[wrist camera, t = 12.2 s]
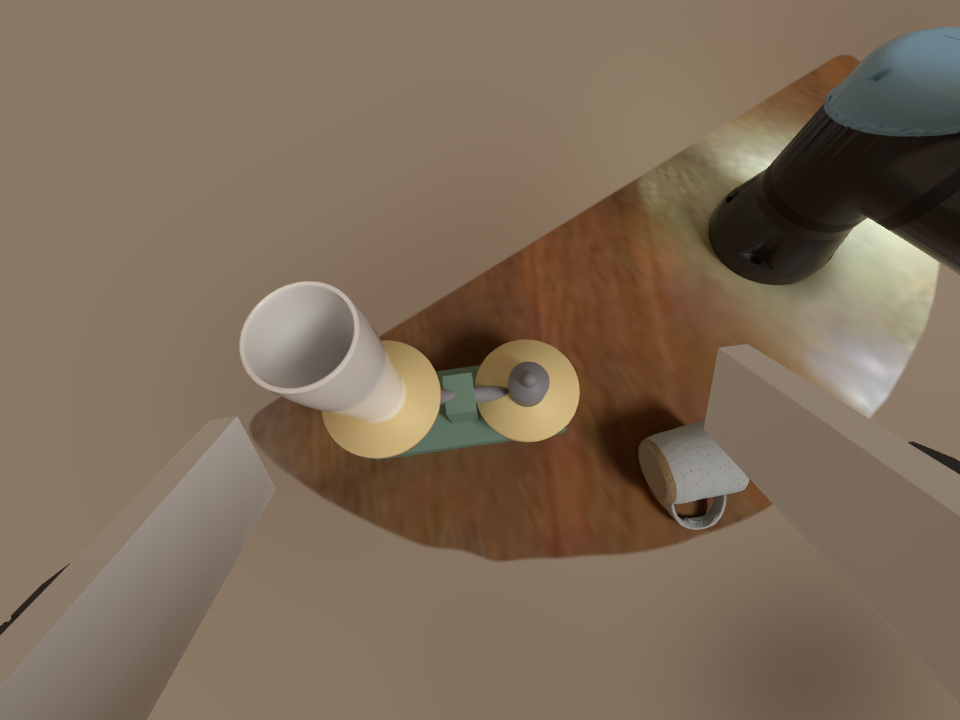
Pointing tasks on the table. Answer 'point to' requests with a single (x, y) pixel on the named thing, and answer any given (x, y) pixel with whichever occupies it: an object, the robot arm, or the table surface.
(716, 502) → the ceramic mug
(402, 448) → the balance
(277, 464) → the table surface
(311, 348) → the white cup
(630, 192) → the table surface
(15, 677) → the robot arm
